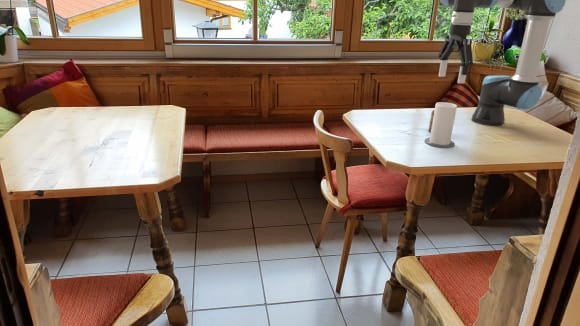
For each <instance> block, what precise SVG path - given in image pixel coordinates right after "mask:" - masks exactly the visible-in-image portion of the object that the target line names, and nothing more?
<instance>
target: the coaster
mask: <svg viewBox="0 0 580 326" xmlns="http://www.w3.org/2000/svg"><path fill="white" fill-rule="evenodd" d="M424 143H425V144H427V145H428V146H430V147H431V146H432V147H434V148H439V149H440V148H441V149H442V148H443V149H450V148H453V147H454V146H455V144H456V143H455V142H454V141H452V140H450V144H448V145H439V144H434V143H432V142H430V136H429V137H427V138H425V139H424Z"/></svg>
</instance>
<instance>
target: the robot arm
mask: <svg viewBox="0 0 580 326" xmlns="http://www.w3.org/2000/svg"><path fill="white" fill-rule="evenodd" d="M566 1H567V0H441V4H442V5H444V6H445V7H446V6H447V7H453V9H452V14H451V20H450V22H451V24H450V25H449V31H448V33H449V35H447V34H446V36H445V40H444V42H443V44H442V46H441V47H440V50H439V52H438V55H437V58H438V59H439V60H440V63H439V70H438V71H439V72H438V77H439V78H440V77H446V74H447V68H448V62H449V61H448V60H449V57H450V56H451V54H452V53H453V52H454V50H456V51H457V52H458V55H459V57H460V58H459V59H460V62H461V65H460V66H459V73H458V78H457V82H456V83H457V84H465V83H466V79H467V78H466V77H467V74H468V70H469V68H470V67H471V66H473V65H474V59H473V50H472V49H473V48H472V42H473V40H472V38H467V36H470V34H471V28H472V23H473V20H474V13H475V8H476V9H489V8H493V7H495V6H498V8H502V9H512V10H517V11H524V12H525V14H524V16H525V18H526V19H527V21H526V26H525V29H524V30H525V31H524V35H523V39H522V43H521V48H520V52H519V56H518V61H517V64H516V69H515V73H514V75H512V76H510V75H487V76H485V77H483V81H482V84H481V89H480V95H479V99H478V105H477V106H476V109H475V110H474V112H473V114H472V115H471V121H472V122H474V123H477V124H480V125H485V126H491V127H492V126H494V127H495V126H496V127H499V126H500V127H501V126H503V124H505V121H506V119H505V111H504V108H505V106H508V107H513V108H515V109H518V110H523V111H524V110H525V111H528V110H531V109H532V108H534V107H535V106H536V105H537V104H538V102H539V101H540V99H541V97H542V94H543V89H542V86H541V85H539V82H540V80H539V79H538V77H537V76H538V75H537V74H538V70H539V66H540V62H541V58H542V55H543V51H544V47H545V42H546V38H547V35H548V30H549V26H550V22H552V20H553V19H555V18H556V14H558V13H560V12H561V11H562V10H563V9H564V8H565V6H566V5H565V4H566Z"/></svg>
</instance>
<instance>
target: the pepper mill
mask: <svg viewBox="0 0 580 326" xmlns="http://www.w3.org/2000/svg"><path fill="white" fill-rule="evenodd" d="M434 111H435V109H433V110H432V111H431V115H430V120H429V126H428V132H429V133H430V134H431V129H432V123H433V117H434Z"/></svg>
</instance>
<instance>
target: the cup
mask: <svg viewBox="0 0 580 326" xmlns="http://www.w3.org/2000/svg"><path fill="white" fill-rule="evenodd" d="M457 108H458V105H457V104H455V103H451V102H446V101H445V102H443V101H441V102H440V101H439V102H436V103H435V108H434V110H435V111H434V117H433V123H432V129H431V133H430V135H429V137H430V142H432V143H434V144H439V145H448V144H450V140H451V139H452V134H453V128H454V124H455V119H456V118H455V117H456V113H457ZM451 141H452V140H451Z"/></svg>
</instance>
